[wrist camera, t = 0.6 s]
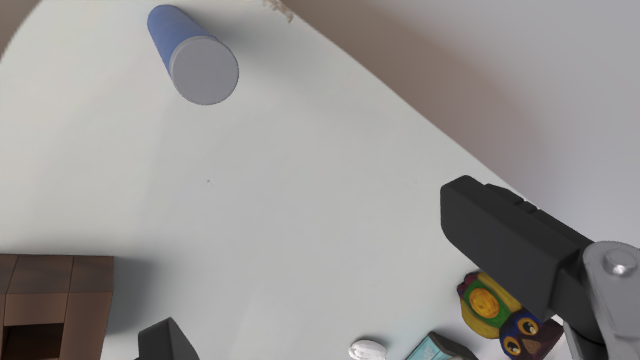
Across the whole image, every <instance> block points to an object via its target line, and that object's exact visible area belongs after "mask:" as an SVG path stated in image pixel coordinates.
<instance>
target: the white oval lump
mask: <svg viewBox="0 0 640 360" xmlns="http://www.w3.org/2000/svg"><path fill="white" fill-rule="evenodd" d="M348 351H349V354H350V356H351V357H353V358H354V359H356V360H386V355H387V350H386V349H385V348H384V347H383V346H382V345H380V344H378V343H376V342H373V341H369V340H360V341H357V342H355V343H354V344H353V345H352V347H351V348H350V349H349V350H348Z"/></svg>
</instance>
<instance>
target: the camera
mask: <svg viewBox="0 0 640 360" xmlns="http://www.w3.org/2000/svg"><path fill="white" fill-rule="evenodd" d="M406 360H479V359H478V358H477V357H476V356H475V355H474V354H473V353H472V352H471V351H470V350H469V349H468V348H466V347H464V346H462V345H460V344H457V343H455V342H453V341H451V340H449V339H447V338H444V337H442V336H440V335H438V334H436V333H433V332H431V333H430V334H429V335H428V336H427V337H426V338H425V339H424V340H423V341H422V342H421V344H420V345H419V346H418V347H417V348H416V349H415V350H414V351H413V352H412V353H411V355H410V356H409V357H408V358H407V359H406Z"/></svg>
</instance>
